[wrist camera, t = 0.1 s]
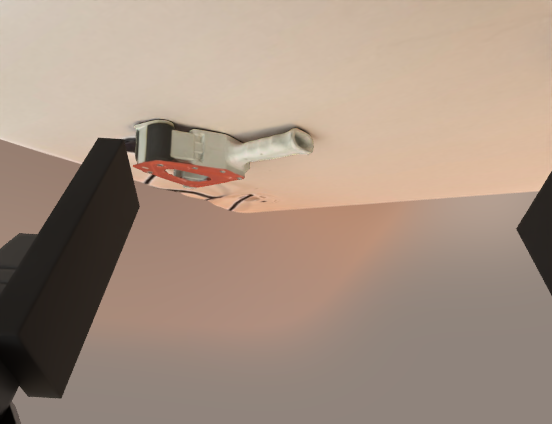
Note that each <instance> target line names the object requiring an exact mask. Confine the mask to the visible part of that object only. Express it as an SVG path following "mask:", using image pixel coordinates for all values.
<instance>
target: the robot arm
mask: <svg viewBox="0 0 552 424" xmlns="http://www.w3.org/2000/svg"><path fill="white" fill-rule="evenodd" d="M139 207H140V206H139V202H138V197H137V193H136V189H135V185H134V181H133V176H132V172H131V168H130V164H129V160H128V155H127V151H126V147H125V143H124V139H110V138H98V139H97V141H96V142H95V144H94V146H93V147H92V149H91V150H90V152H89V154H88V155H87V157H86V158H85V160H84V162H83V163H82V165H81V166H80V168H79V170H78V171H77V173H76V174H75V176H74V178H73V179H72V181H71V183H70V184H69V186H68V187H67V189H66V190H65V192H64V194H63V195H62V197H61V198H60V200H59V201H58V203H57V205H56V206H55V208H54V209H53V211H52V213H51V214H50V216H49V217H48V219H47V221H46V222H45V224H44V225H43V227H42V229H41V230H40V232H39V234H23V233H19V234H18V235H17V236H15V237H14V238H13V239H12V240H10V241H9V242H8V243H7V244H5V245H4V246H3V247H2V248H1V249H0V424H21V422H20V419H19V416H18V413H17V410H16V407H15V405H14V404H13V403H12V399H13V397H14V395H15V393H16V391H17V389H18V387H19V386H20V387H21V388H22V389H23V391H24V392H25V393H26V394H27V396H29V397H47V398H62V395H63V393H64V390H65V388H66V385H67V383H68V380H69V378H70V375H71V373H72V371H73V368H74V366H75V363H76V361H77V358H78V356H79V354H80V351H81V348H82V346H83V344H84V341H85V339H86V336H87V334H88V332H89V329H90V327H91V324H92V322H93V319H94V317H95V314H96V312H97V310H98V307H99V305H100V302H101V300H102V297H103V295H104V293H105V290H106V288H107V285H108V283H109V280H110V278H111V275H112V273H113V271H114V268H115V266H116V263H117V261H118V258H119V256H120V253H121V251H122V249H123V246H124V244H125V241H126V239H127V236H128V234H129V231H130V229H131V227H132V224H133V222H134V219H135V217H136V214H137V212H138V209H139ZM517 231H518V233H519V235H520V237H521V239H522V241H523V242H524V244H525V246H526V248H527V250H528V252H529V254H530V255H531V257H532V259H533V261H534V263H535V265H536V267H537V269H538V271H539V272H540V274H541V276H542V278H543V280H544V282H545V284H546V285H547V287H548V289H549V291H550V293H551V295H552V172H551V173H550V175H549V177H548V178H547V180H546V181H545V183H544V185H543V186H542V188H541V190H540V191H539V193H538V194H537V196H536V198H535V199H534V201H533V202H532V204H531V206H530V208H529V209H528V211H527V212H526V214H525V215H524V217H523V219H522V220H521V222H520V224H519V225H518V227H517Z"/></svg>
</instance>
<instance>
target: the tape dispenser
mask: <svg viewBox="0 0 552 424" xmlns="http://www.w3.org/2000/svg"><path fill="white" fill-rule="evenodd" d="M134 128H135V129H136V143H137V144H136V148H135V158H136V161H137V164H136V165H133V167H135V168H137V169H140V170H142V171H143V172H145V173H150V174H153V175H156V176H158V177H161V178H164V179H167V180H170V181H173V182H176V183H179V184H182V185H183V187H184V188H189V189H190V188H197V187H203V186H209V185H214V184H219V183H225V182H229V181H234V180H241V179H244V178H245V175H244V174H245V173H246V172H247V171H248V170H249V169H250V162H254V161H263V160H270V159H276V158H281V157H286V156H290V155H296V154H305V155H309V154H311V153H312V152H313V148H314V146H313V140H312V138H311V137H310V135H309V134H307V133H305V132H303V131H301V130H299V129H297V128H293V129H292V130H290V131H288V132H286V133H283V134H277V135H273V136H270V137H265V138H260V139H258V140H253V141H249V142H246V143H244V144H243V143H241V142H239V141H238V140H236V139H234V138H232V137H230V136H228V135H226V134H221V133H216V132H210V131H205V130H199V129H192V130H190V131H189V133H188V132H182V131H177V130H175V129H174V124H173V123H171V122H169V121H167V120H153V121H149V122H145V123H142V124H138V125H135V126H134ZM166 169H174V176H173V175H172V174H168V173H167V172H166V171H165V170H166Z"/></svg>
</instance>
